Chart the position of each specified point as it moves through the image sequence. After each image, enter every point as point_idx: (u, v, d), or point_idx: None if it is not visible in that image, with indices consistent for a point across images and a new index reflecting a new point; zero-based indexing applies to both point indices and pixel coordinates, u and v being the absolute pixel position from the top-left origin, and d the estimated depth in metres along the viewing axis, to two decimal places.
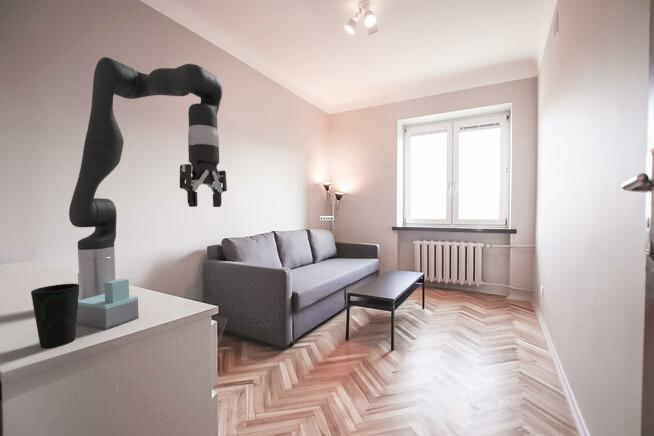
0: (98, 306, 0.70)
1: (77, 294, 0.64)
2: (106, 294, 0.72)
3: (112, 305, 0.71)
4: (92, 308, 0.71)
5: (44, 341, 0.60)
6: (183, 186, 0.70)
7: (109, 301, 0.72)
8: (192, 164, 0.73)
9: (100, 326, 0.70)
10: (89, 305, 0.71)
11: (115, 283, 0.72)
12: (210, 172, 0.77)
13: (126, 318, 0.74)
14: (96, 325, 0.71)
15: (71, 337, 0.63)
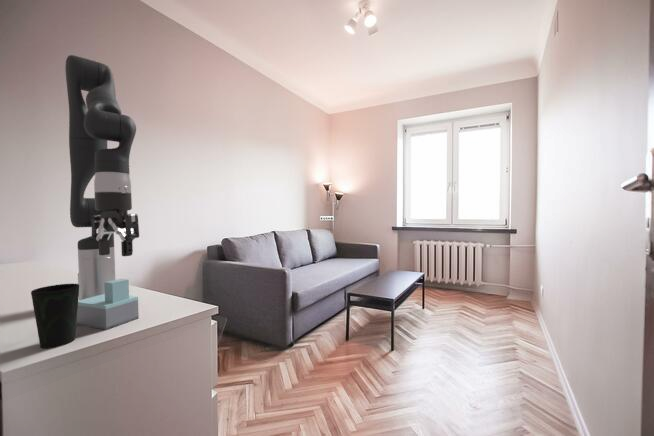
0: (98, 306, 0.70)
1: (77, 294, 0.64)
2: (106, 294, 0.72)
3: (112, 305, 0.71)
4: (92, 308, 0.71)
5: (44, 341, 0.60)
6: (134, 236, 0.71)
7: (109, 301, 0.72)
8: (123, 212, 0.72)
9: (100, 326, 0.70)
10: (89, 305, 0.71)
11: (115, 283, 0.72)
12: None
13: (126, 318, 0.74)
14: (96, 325, 0.71)
15: (71, 337, 0.63)
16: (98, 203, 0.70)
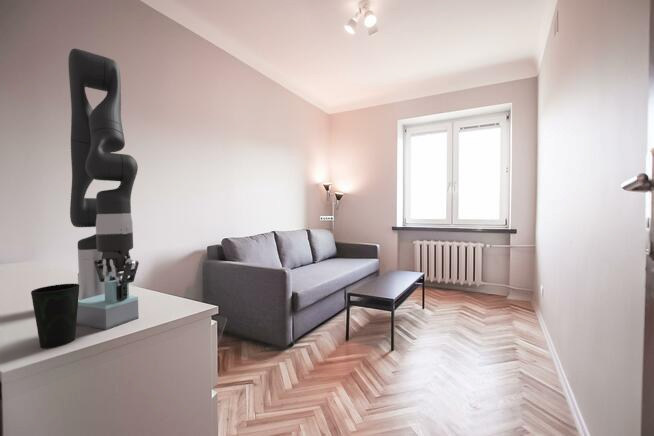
0: (98, 306, 0.70)
1: (77, 294, 0.64)
2: (106, 294, 0.72)
3: (112, 305, 0.71)
4: (92, 308, 0.71)
5: (44, 341, 0.60)
6: (128, 281, 0.72)
7: (109, 301, 0.72)
8: (124, 253, 0.72)
9: (100, 326, 0.70)
10: (89, 305, 0.71)
11: (115, 283, 0.72)
12: None
13: (126, 318, 0.74)
14: (96, 325, 0.71)
15: (71, 337, 0.63)
16: (99, 246, 0.70)
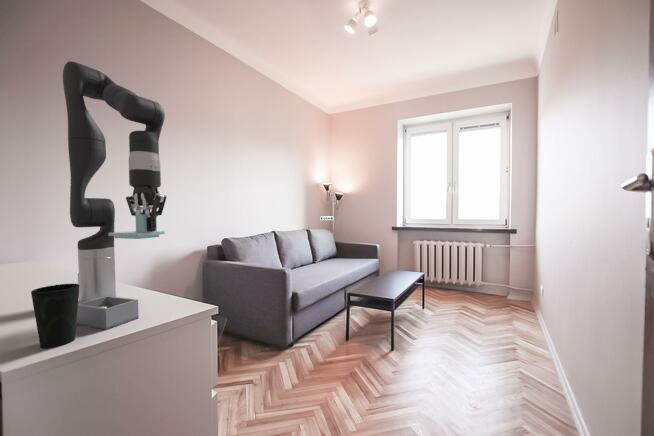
0: (130, 234, 0.78)
1: (77, 294, 0.64)
2: (137, 225, 0.80)
3: (142, 233, 0.78)
4: (92, 308, 0.71)
5: (44, 341, 0.60)
6: (157, 213, 0.80)
7: (140, 231, 0.80)
8: (154, 188, 0.80)
9: (100, 326, 0.70)
10: (122, 234, 0.79)
11: (145, 215, 0.80)
12: None
13: (126, 318, 0.74)
14: (96, 325, 0.71)
15: (71, 337, 0.63)
16: (132, 179, 0.78)
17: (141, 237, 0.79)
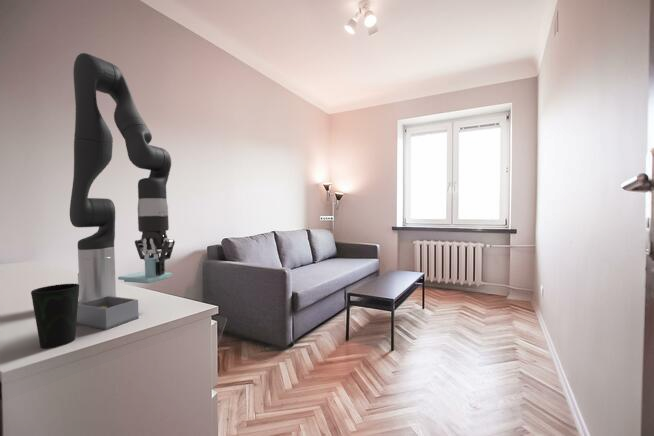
0: (140, 279, 0.80)
1: (77, 294, 0.64)
2: (146, 269, 0.82)
3: (152, 278, 0.80)
4: (92, 308, 0.71)
5: (44, 341, 0.60)
6: (166, 257, 0.82)
7: (149, 275, 0.82)
8: (162, 233, 0.82)
9: (100, 326, 0.70)
10: (132, 279, 0.81)
11: (154, 259, 0.82)
12: None
13: (126, 318, 0.74)
14: (96, 325, 0.71)
15: (71, 337, 0.63)
16: (141, 226, 0.80)
17: (150, 281, 0.81)
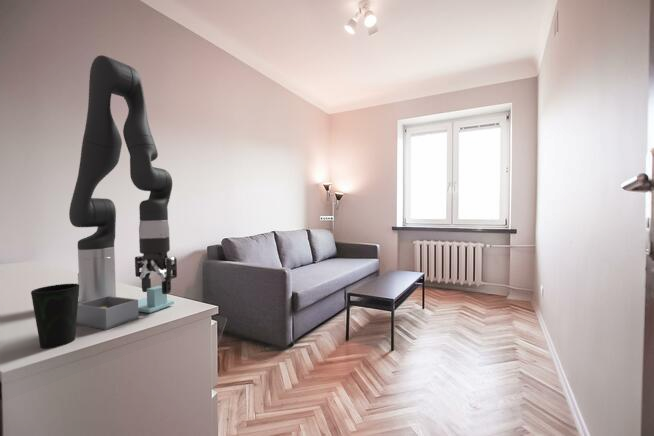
0: (142, 310, 0.80)
1: (77, 294, 0.64)
2: (148, 299, 0.82)
3: (154, 308, 0.81)
4: (92, 308, 0.71)
5: (44, 341, 0.60)
6: (172, 277, 0.81)
7: (151, 305, 0.82)
8: (163, 255, 0.82)
9: (100, 326, 0.70)
10: None
11: (156, 289, 0.82)
12: None
13: (126, 318, 0.74)
14: (96, 325, 0.71)
15: (71, 337, 0.63)
16: (143, 248, 0.80)
17: (152, 311, 0.82)
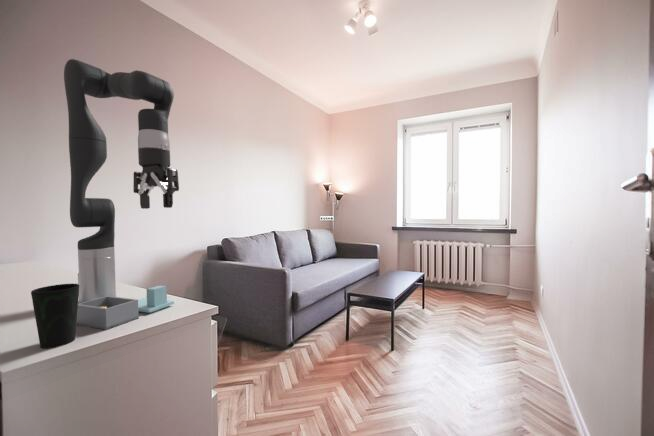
0: (142, 310, 0.80)
1: (77, 294, 0.64)
2: (148, 299, 0.82)
3: (154, 308, 0.81)
4: (92, 308, 0.71)
5: (44, 341, 0.60)
6: (174, 188, 0.77)
7: (151, 305, 0.82)
8: (164, 167, 0.78)
9: (100, 326, 0.70)
10: None
11: (156, 289, 0.82)
12: None
13: (126, 318, 0.74)
14: (96, 325, 0.71)
15: (71, 337, 0.63)
16: (142, 158, 0.76)
17: (152, 311, 0.82)
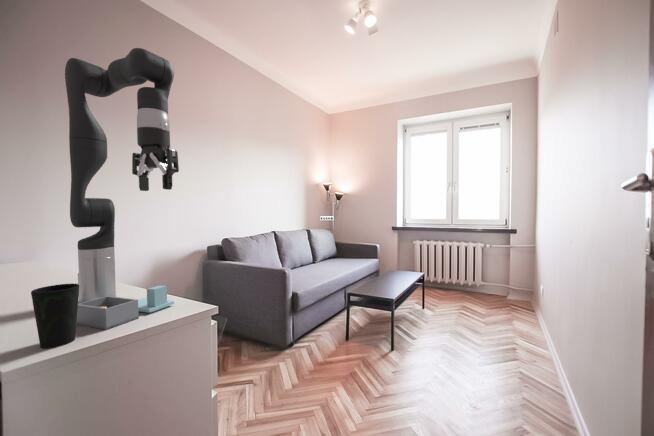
0: (142, 310, 0.81)
1: (77, 294, 0.64)
2: (148, 299, 0.82)
3: (154, 308, 0.81)
4: (92, 308, 0.71)
5: (44, 341, 0.60)
6: (174, 169, 0.75)
7: (151, 305, 0.82)
8: (163, 148, 0.76)
9: (100, 326, 0.70)
10: None
11: (156, 289, 0.82)
12: None
13: (126, 318, 0.74)
14: (96, 325, 0.71)
15: (71, 337, 0.63)
16: (141, 138, 0.74)
17: (152, 311, 0.82)
